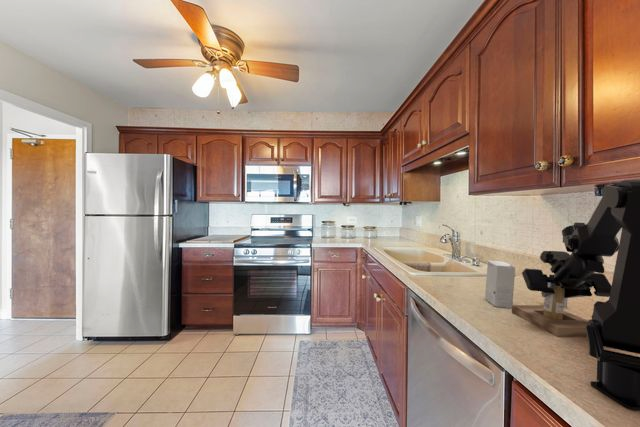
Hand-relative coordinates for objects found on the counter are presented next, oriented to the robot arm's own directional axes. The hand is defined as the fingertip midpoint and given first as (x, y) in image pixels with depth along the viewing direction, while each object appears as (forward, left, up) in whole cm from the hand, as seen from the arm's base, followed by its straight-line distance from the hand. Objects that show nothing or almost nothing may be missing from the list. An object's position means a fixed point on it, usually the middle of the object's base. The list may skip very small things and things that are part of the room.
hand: (551, 296), depth 78 cm
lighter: (+13, -13, -8) cm, 20 cm away
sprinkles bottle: (-1, +1, -7) cm, 8 cm away
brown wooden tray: (-1, 0, -8) cm, 8 cm away
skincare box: (+15, +5, -8) cm, 18 cm away
